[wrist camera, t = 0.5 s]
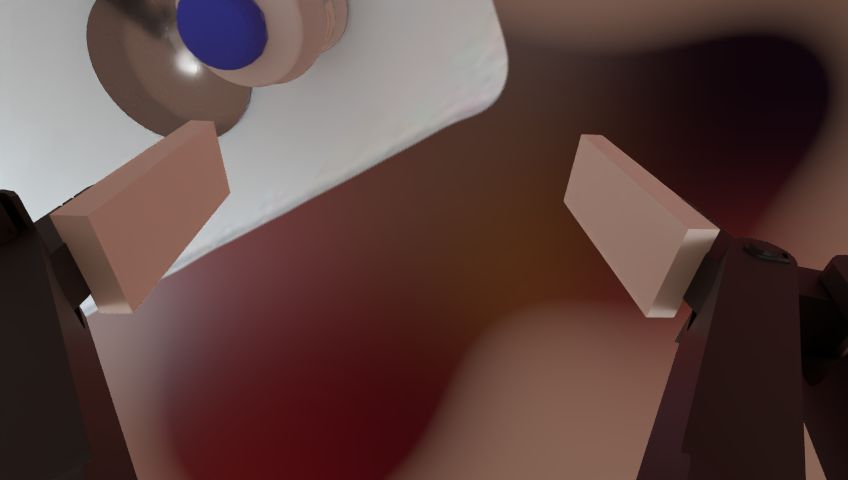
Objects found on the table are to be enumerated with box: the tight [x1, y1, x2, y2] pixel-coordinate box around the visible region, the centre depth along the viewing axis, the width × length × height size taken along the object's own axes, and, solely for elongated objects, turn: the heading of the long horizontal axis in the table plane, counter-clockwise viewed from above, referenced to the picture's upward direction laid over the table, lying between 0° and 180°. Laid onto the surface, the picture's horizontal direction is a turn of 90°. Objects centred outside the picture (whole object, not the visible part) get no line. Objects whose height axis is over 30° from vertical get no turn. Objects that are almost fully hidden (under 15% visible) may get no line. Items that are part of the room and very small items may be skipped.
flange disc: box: [87, 0, 252, 137], centre depth 35 cm, size 13×13×1 cm
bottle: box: [176, 0, 348, 87], centre depth 25 cm, size 7×7×20 cm
